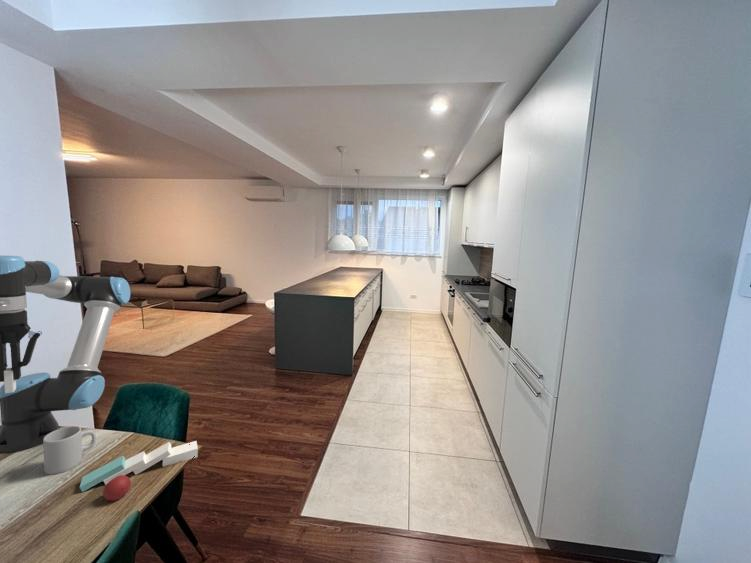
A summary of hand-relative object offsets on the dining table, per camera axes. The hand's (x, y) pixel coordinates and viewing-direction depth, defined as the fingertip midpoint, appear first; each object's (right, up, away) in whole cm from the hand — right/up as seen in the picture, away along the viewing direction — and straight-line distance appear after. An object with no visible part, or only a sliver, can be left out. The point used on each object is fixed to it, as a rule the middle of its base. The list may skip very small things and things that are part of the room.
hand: (10, 390), depth 84 cm
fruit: (+31, -32, +1) cm, 44 cm away
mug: (+4, -29, +13) cm, 32 cm away
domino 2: (+21, -30, +6) cm, 37 cm away
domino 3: (+27, -29, +11) cm, 41 cm away
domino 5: (+33, -30, +15) cm, 47 cm away
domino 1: (+17, -29, +3) cm, 34 cm away
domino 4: (+33, -28, +15) cm, 46 cm away
